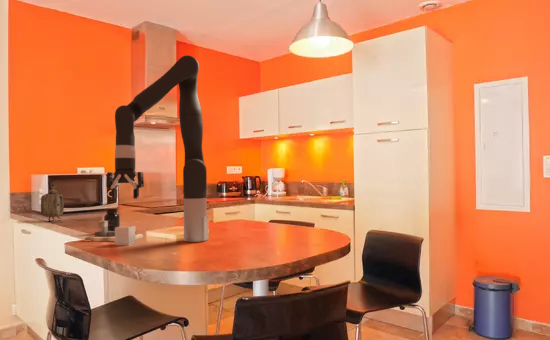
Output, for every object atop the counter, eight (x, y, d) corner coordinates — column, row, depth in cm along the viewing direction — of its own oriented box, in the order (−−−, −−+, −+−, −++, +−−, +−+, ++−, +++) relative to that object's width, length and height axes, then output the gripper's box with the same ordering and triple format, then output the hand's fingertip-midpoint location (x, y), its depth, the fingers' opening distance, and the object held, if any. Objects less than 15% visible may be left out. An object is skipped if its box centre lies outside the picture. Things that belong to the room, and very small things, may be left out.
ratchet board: (142, 237, 171) (142, 219, 171) (130, 241, 160) (130, 222, 161) (99, 237, 173) (99, 219, 174) (84, 241, 163) (84, 222, 163)
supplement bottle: (122, 232, 188) (122, 207, 189) (113, 234, 182) (113, 208, 182) (110, 232, 190) (110, 207, 191) (100, 234, 184) (100, 208, 184)
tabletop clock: (56, 222, 242) (56, 182, 243) (40, 223, 240) (40, 182, 241) (63, 220, 256) (63, 182, 257) (48, 220, 254) (48, 182, 255)
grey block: (135, 243, 156) (135, 225, 156) (128, 245, 151) (128, 227, 151) (122, 243, 157) (122, 225, 157) (114, 245, 151) (114, 227, 151)
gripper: (146, 157, 158) (146, 198, 157) (113, 158, 159) (112, 198, 159) (138, 156, 150) (138, 199, 150) (102, 157, 152) (102, 199, 151)
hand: (125, 198), depth 154 cm, fingers open, 8 cm apart
